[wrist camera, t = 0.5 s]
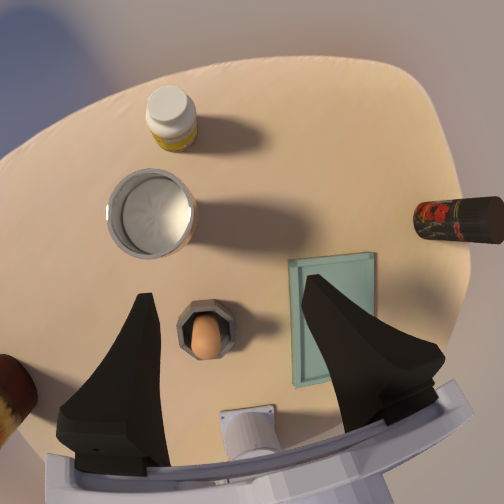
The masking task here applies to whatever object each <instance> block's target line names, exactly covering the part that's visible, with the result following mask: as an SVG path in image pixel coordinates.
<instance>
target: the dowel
mask: <svg viewBox="0 0 504 504" xmlns="http://www.w3.org/2000/svg"><path fill="white" fill-rule="evenodd" d="M191 347H192V351H193V353H194V354H195V355H196V356H197V357H199V358H201V359H204V360H209V359H213V358H215V357H216V356H218V355H219V353H220V352H221V348H222V344H221V338H220V332H219V326H218V320H217V317H216V315H215V314H214V313H212V312H211V311H202V312H199V313H197V314H196V316H195V318H194V323H193V333H192V344H191Z"/></svg>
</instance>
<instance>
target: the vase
mask: <svg viewBox="0 0 504 504" xmlns="http://www.w3.org/2000/svg"><path fill="white" fill-rule="evenodd" d="M37 398H38V397H37V391H36V387H35V384H34V382H33V380H32V378H31V377H30V375H29V374H28V372H27V371H26V370H25V368H24V367H23V366H22V365H21V364H20V363H19V362H18V361H17V360H15V359H14V358H12V357H11V356H9V355H6V354H0V450H1V448H2V447H3V446H4V444H5V443H6V442H7V441H8V439H9V438H10V437H11V436H12V434H13V433H14V432H15V431H16V429H17V428H18V427H19V426H20V424H21V423H22V422H23V421H24V419H25V418H26V417H27V416H28V415H29V413H30V412H31V411H32V410H33V408H34V407H35V406H36V404H37Z"/></svg>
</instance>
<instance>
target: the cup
mask: <svg viewBox="0 0 504 504" xmlns="http://www.w3.org/2000/svg"><path fill="white" fill-rule="evenodd" d="M202 311H211V312H212V313H214V314H215V315H216V317H217V320H218V326H219V332H220V338H221V344H222V348H221V352H220V353H219V355H218V356H216V357H215V358H213V359H221V358H222V357H223V356H224V355H225V354H226V353H227V352H228V351H229V350H230V348H231V347H232V346H233V345H234V344H235V343H236V333H235V322H234V318H233V315H232V313H231V312H230V311H229V310H228V309H226V308H225V307H224V306H223V305H221V304H220V303H219V302H218V301H216V300H214V299H210V300H199V301H193V302H191V303H190V304H189V305H188V307H187V308H186V309H185V310H184V311H183V313H182V314H181V315H180V316H179V318H178V322H177V325H176V326H177V333H178V339H179V346H180V348H182V349H183V350H184V351H186V352H187V353H189V354H190V355H191V356H193V357H194V358H196V359H197V360H204V359H201V358H199V357H197V356H196V355H195V354H194V353H193V351H192V347H191V344H192V333H193V323H194V318H195V316H196V314H197V313H199V312H202ZM209 360H210V359H209Z"/></svg>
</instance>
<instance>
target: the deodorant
mask: <svg viewBox="0 0 504 504" xmlns="http://www.w3.org/2000/svg"><path fill="white" fill-rule="evenodd" d="M413 223H414V228H415V230H416V232H417V234H418V235H419V236H420V237H421V238H423V239H432V240H447V241H461V242H475V243H488V244H501V243H502V242H503V241H504V203H503V201H502V199H501V198H499V197H496V196H494V197H480V198H466V199H454V200H443V201H432V202H423V203H420V204H419V205H418V206H417V208H416V209H415V212H414V217H413Z"/></svg>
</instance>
